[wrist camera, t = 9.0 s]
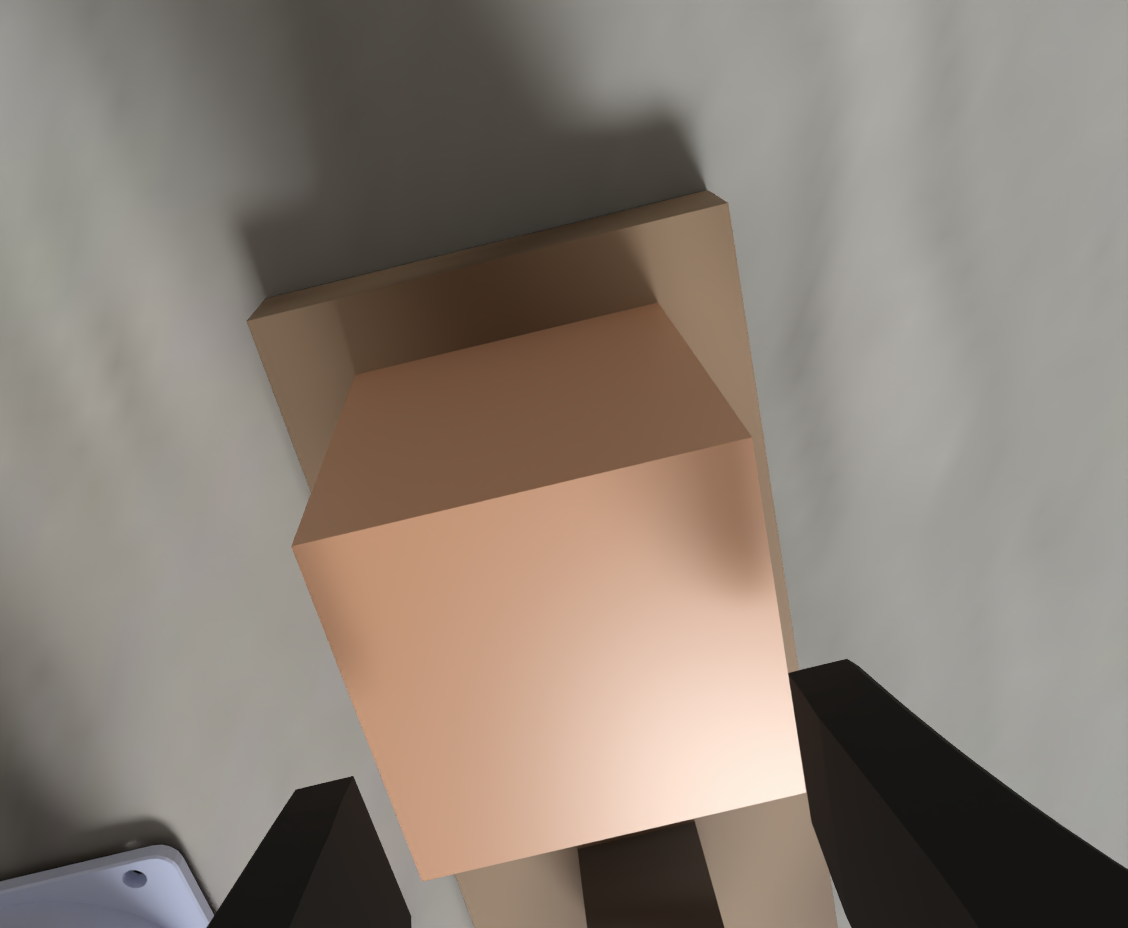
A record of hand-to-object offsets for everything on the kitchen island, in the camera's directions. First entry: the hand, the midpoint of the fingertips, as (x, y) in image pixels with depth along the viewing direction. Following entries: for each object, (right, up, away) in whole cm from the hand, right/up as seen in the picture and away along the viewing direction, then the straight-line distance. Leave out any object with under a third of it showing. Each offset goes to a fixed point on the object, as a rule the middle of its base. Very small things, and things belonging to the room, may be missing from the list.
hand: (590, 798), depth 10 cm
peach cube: (-1, +3, +7) cm, 8 cm away
